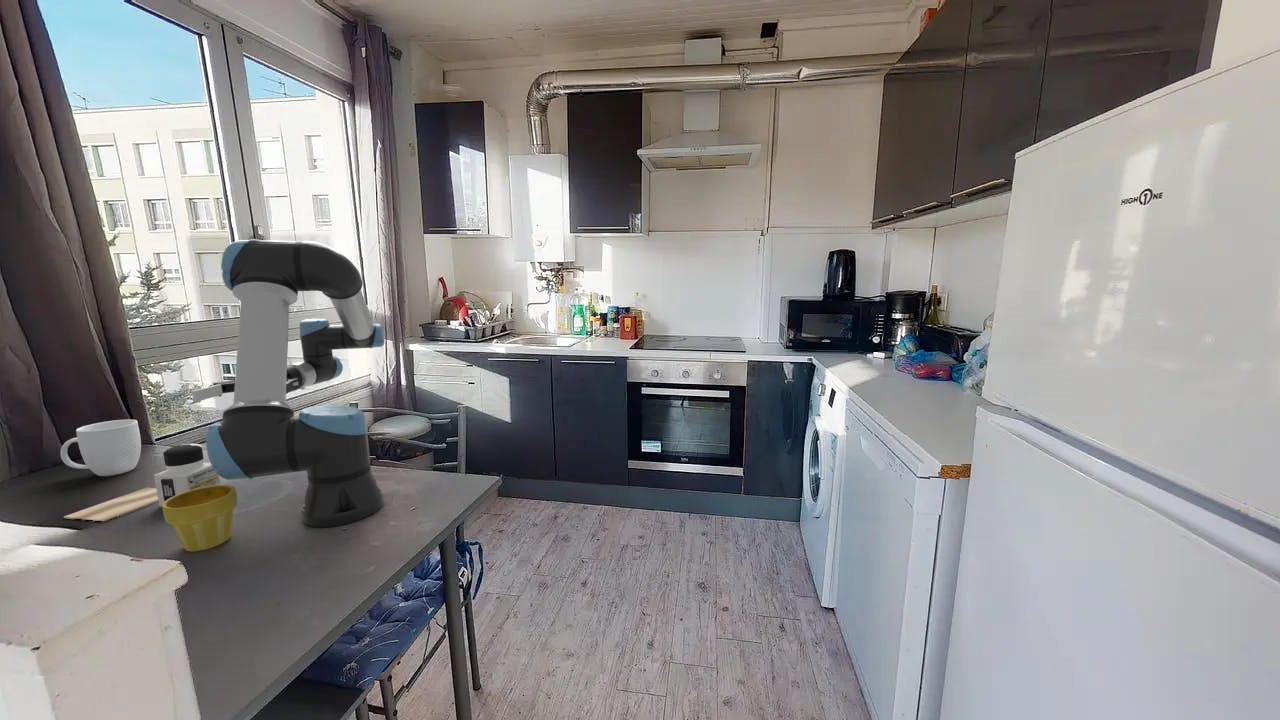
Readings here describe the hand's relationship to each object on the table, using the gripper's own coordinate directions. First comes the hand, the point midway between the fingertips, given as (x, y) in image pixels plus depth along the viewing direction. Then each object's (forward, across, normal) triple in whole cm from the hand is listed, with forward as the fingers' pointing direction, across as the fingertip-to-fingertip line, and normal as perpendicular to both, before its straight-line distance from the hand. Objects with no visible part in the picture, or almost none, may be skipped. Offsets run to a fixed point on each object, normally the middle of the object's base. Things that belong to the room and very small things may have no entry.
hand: (217, 397), depth 115 cm
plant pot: (+25, -24, -21) cm, 40 cm away
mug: (-1, +40, -24) cm, 46 cm away
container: (+10, 0, -22) cm, 24 cm away
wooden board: (+14, +12, -22) cm, 29 cm away
